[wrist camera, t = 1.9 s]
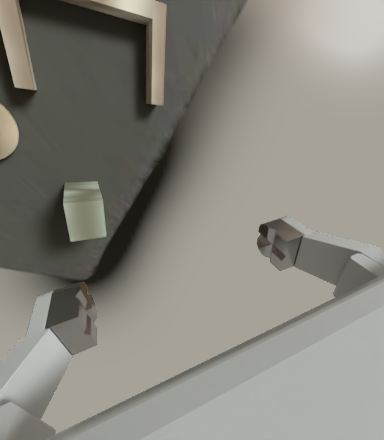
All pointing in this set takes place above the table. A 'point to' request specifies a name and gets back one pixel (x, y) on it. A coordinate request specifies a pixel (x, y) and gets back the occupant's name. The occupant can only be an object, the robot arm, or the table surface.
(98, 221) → the block
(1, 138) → the bobbin
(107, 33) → the table surface
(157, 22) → the beige u-shaped bracket
